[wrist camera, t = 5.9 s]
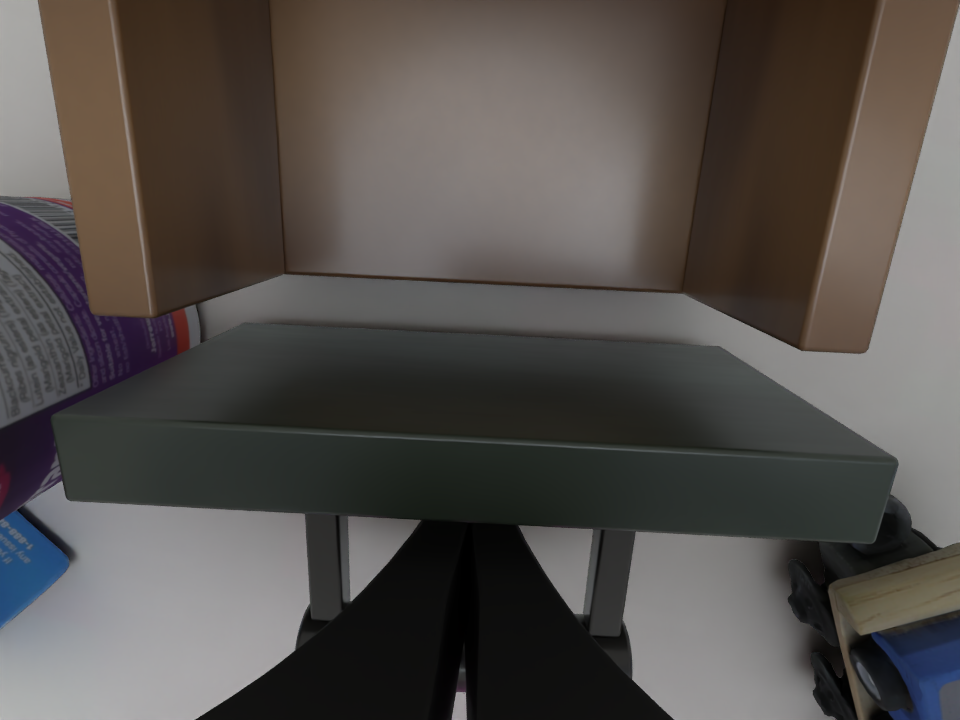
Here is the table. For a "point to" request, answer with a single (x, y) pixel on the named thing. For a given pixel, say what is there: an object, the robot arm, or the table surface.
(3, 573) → the ink box
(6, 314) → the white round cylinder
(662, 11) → the drawer
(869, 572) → the toy train
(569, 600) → the table surface
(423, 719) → the robot arm
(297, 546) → the table surface
